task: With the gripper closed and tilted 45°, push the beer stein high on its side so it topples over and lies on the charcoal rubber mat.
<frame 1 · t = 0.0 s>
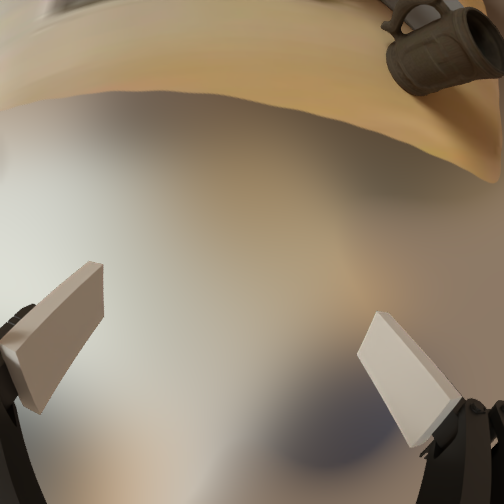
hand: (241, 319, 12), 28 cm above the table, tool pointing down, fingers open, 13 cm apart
beer stein: (399, 59, 32), on the table
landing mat: (437, 12, 28), on the table
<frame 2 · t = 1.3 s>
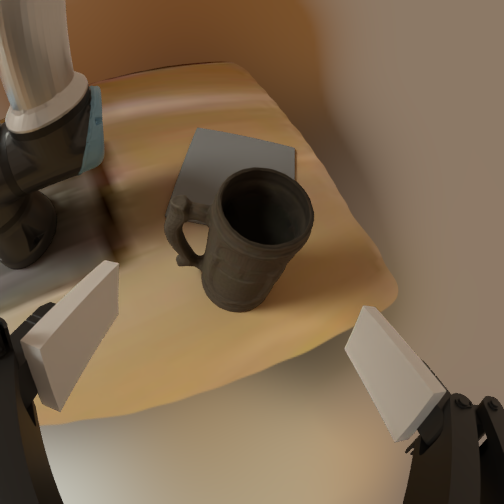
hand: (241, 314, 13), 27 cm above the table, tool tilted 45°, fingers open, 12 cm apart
beer stein: (220, 279, 42), on the table
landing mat: (238, 176, 52), on the table
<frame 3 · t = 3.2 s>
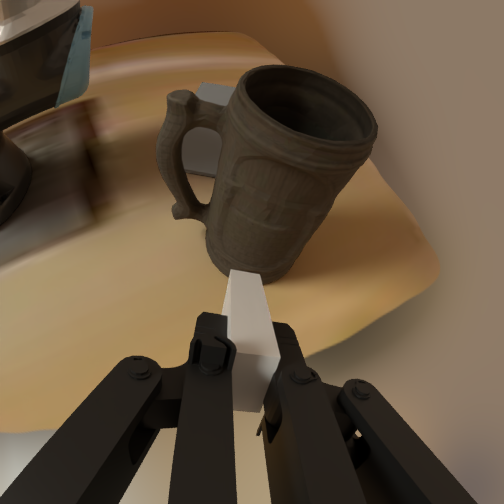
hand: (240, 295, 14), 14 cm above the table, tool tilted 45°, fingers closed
beer stein: (230, 242, 32), on the table
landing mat: (250, 129, 42), on the table
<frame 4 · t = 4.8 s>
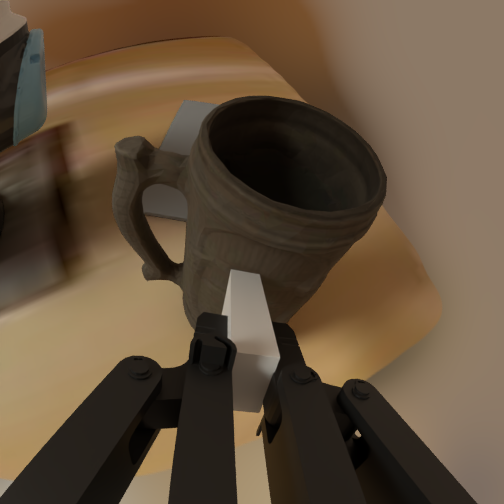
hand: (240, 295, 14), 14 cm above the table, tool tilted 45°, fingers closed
beer stein: (211, 301, 28), on the table, touching gripper
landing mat: (236, 157, 38), on the table
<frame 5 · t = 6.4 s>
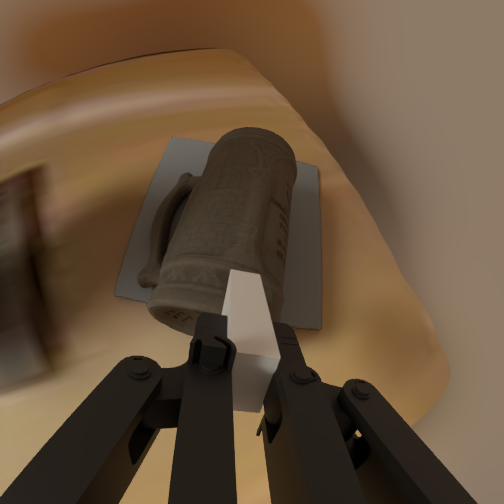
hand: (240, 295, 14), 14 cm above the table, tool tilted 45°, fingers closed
beer stein: (182, 327, 21), point 5 cm above the table, touching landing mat
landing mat: (233, 218, 33), on the table
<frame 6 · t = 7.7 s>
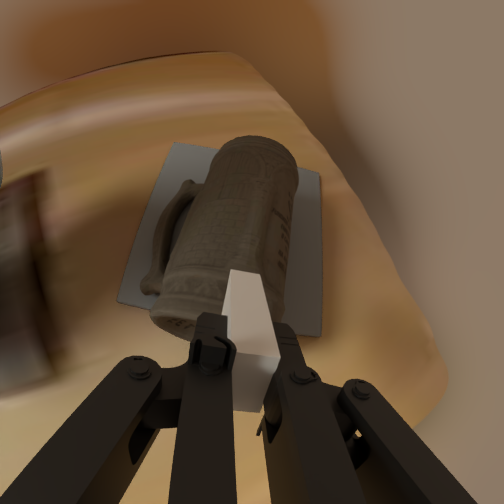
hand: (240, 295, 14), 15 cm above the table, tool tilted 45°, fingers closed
beer stein: (184, 335, 22), point 5 cm above the table, touching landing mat
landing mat: (234, 225, 33), on the table
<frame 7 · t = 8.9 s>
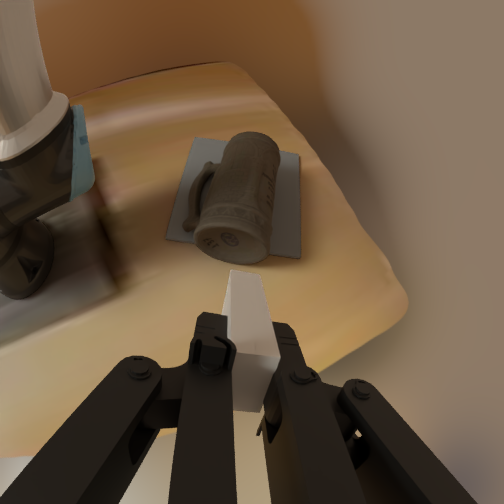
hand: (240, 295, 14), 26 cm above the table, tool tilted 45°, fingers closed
beer stein: (213, 247, 38), point 5 cm above the table, touching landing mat
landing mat: (240, 190, 50), on the table
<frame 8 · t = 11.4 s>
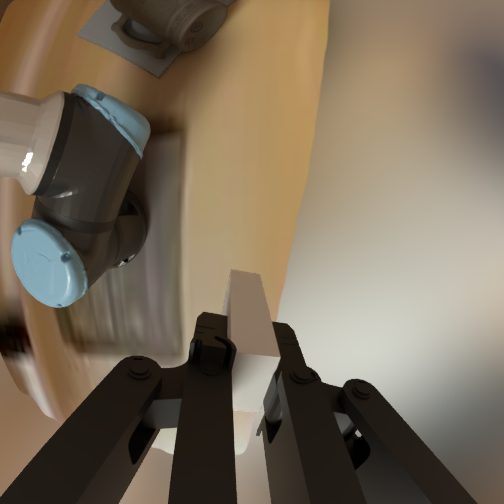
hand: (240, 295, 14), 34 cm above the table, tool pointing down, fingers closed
beer stein: (196, 39, 33), point 5 cm above the table, touching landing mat
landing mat: (151, 11, 34), on the table
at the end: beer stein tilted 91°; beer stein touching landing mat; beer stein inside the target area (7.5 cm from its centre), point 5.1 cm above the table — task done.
